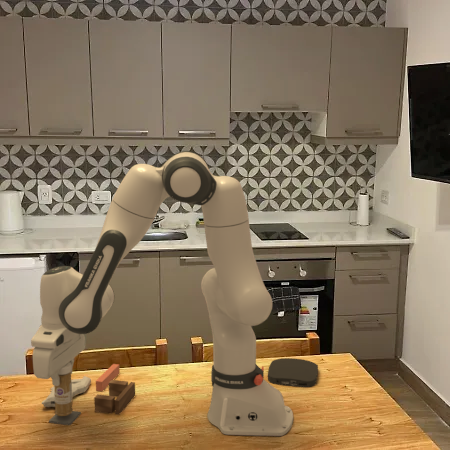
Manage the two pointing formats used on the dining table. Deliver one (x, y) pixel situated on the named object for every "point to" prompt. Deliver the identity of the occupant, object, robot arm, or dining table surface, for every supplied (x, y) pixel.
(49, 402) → the gun
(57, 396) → the sprinkles bottle
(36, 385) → the dining table surface
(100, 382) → the salmon red bar
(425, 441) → the dining table surface
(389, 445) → the dining table surface
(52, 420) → the pad
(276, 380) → the media streaming box
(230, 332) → the robot arm
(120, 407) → the brown u-shaped channel
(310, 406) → the dining table surface
